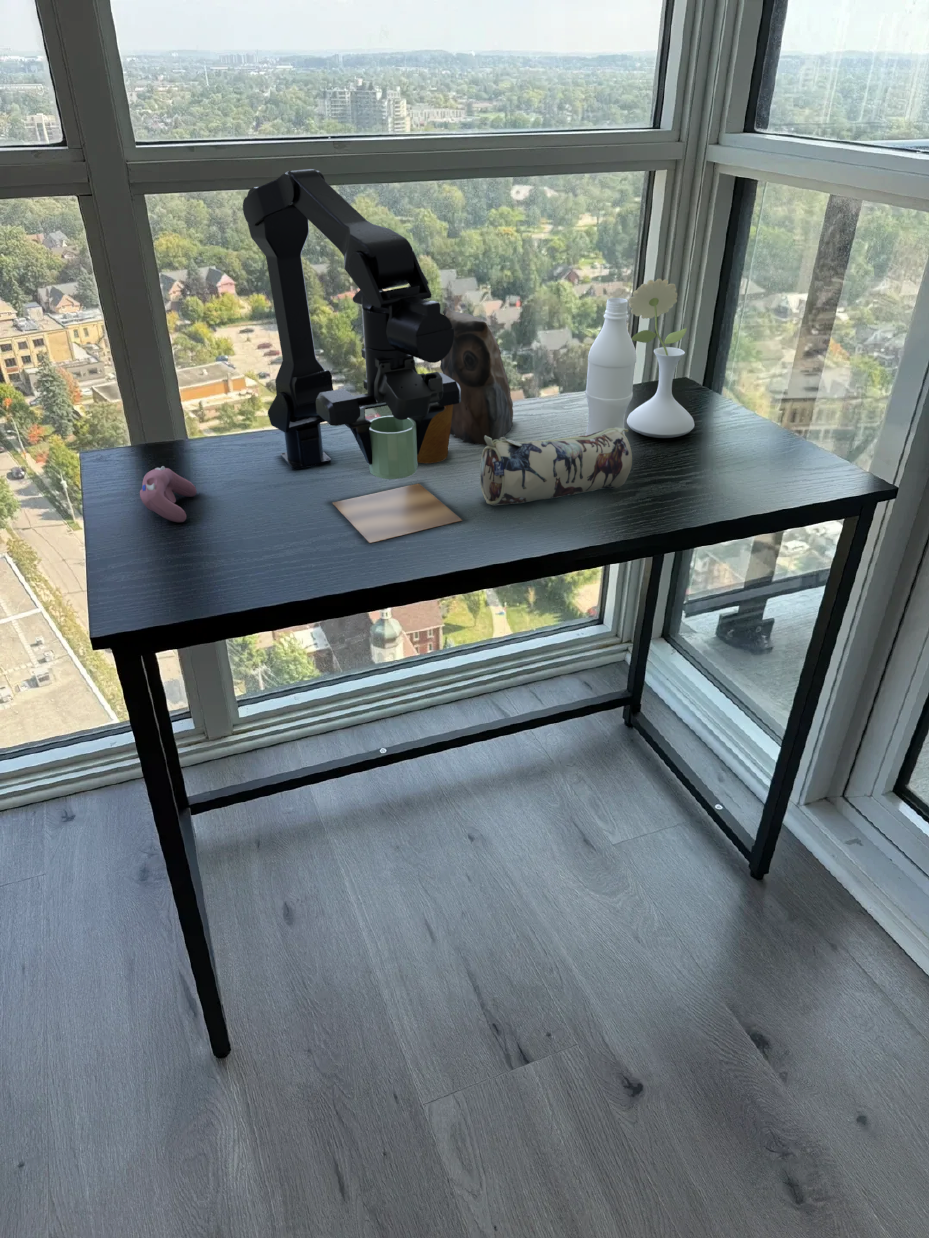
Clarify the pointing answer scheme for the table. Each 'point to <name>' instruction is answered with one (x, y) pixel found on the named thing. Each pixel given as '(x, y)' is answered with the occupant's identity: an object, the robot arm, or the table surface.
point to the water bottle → (610, 370)
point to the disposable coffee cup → (436, 438)
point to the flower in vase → (662, 409)
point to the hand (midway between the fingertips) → (392, 459)
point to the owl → (477, 381)
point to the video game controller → (165, 493)
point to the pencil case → (553, 466)
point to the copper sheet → (395, 512)
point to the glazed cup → (393, 447)
